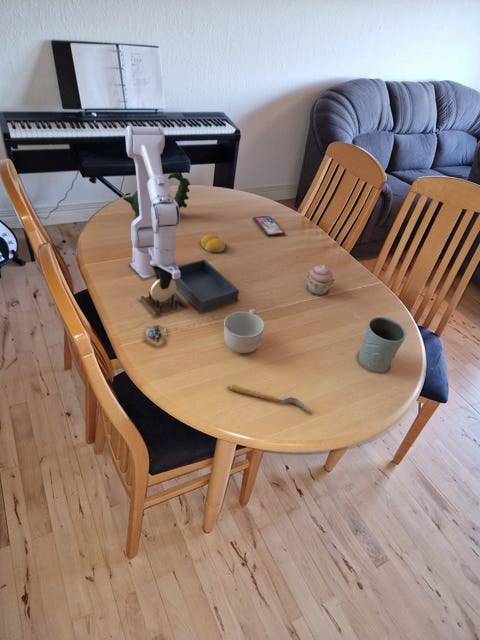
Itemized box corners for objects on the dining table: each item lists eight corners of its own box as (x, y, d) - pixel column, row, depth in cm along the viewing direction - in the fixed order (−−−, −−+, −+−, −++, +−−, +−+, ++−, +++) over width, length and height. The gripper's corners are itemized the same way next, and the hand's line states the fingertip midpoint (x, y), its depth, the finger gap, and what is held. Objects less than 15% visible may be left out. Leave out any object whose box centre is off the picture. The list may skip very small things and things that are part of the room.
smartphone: (268, 234, 171) (253, 216, 181) (267, 236, 172) (252, 218, 182) (285, 232, 174) (269, 215, 184) (284, 235, 174) (269, 217, 185)
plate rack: (140, 300, 130) (140, 292, 128) (170, 291, 136) (170, 283, 134) (155, 317, 125) (155, 309, 123) (185, 307, 130) (185, 299, 128)
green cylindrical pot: (369, 377, 118) (384, 344, 110) (348, 352, 124) (360, 319, 117) (398, 369, 122) (414, 337, 114) (376, 345, 128) (390, 313, 121)
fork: (228, 388, 106) (310, 408, 104) (230, 381, 107) (311, 401, 105) (228, 393, 108) (308, 413, 106) (230, 386, 109) (309, 406, 107)
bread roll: (212, 255, 155) (213, 245, 153) (197, 244, 160) (197, 234, 158) (229, 249, 160) (231, 240, 158) (214, 239, 165) (215, 229, 162)
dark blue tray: (168, 279, 141) (168, 268, 138) (203, 269, 148) (204, 259, 145) (200, 313, 129) (201, 302, 127) (237, 300, 137) (239, 290, 134)
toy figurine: (179, 213, 181) (118, 213, 169) (186, 168, 170) (121, 164, 158) (187, 224, 174) (124, 224, 163) (194, 178, 163) (127, 175, 152)
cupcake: (311, 278, 152) (318, 253, 146) (335, 289, 149) (343, 264, 142) (298, 289, 146) (305, 264, 140) (323, 301, 142) (331, 276, 136)
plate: (150, 303, 128) (150, 280, 123) (174, 295, 132) (175, 273, 127) (151, 305, 127) (151, 282, 122) (175, 297, 131) (176, 275, 126)
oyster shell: (165, 326, 123) (165, 320, 122) (172, 345, 117) (172, 339, 116) (141, 329, 121) (141, 324, 119) (147, 348, 115) (147, 343, 114)
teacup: (247, 364, 115) (251, 342, 110) (213, 346, 119) (216, 324, 114) (271, 337, 125) (277, 315, 120) (240, 321, 129) (243, 300, 124)
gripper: (138, 236, 120) (139, 277, 128) (164, 262, 112) (163, 304, 120) (161, 231, 124) (160, 271, 132) (188, 256, 115) (185, 297, 124)
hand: (163, 286), depth 126 cm, fingers closed on plate, 1 cm apart
